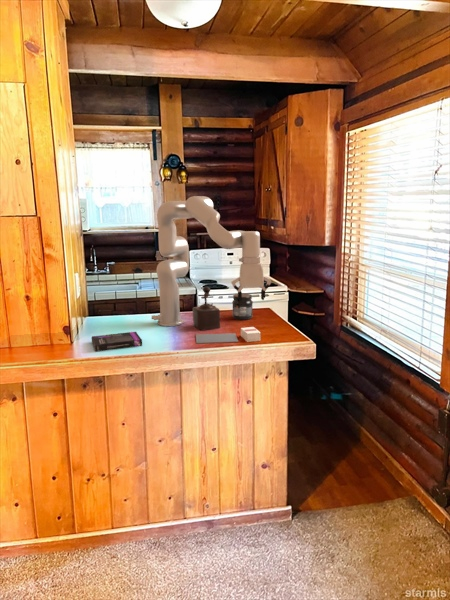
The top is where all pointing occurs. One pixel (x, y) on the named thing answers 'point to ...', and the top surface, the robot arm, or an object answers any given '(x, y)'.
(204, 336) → the mat
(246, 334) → the card box
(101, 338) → the box
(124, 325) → the top surface
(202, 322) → the vintage coffee grinder
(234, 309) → the supplement container
